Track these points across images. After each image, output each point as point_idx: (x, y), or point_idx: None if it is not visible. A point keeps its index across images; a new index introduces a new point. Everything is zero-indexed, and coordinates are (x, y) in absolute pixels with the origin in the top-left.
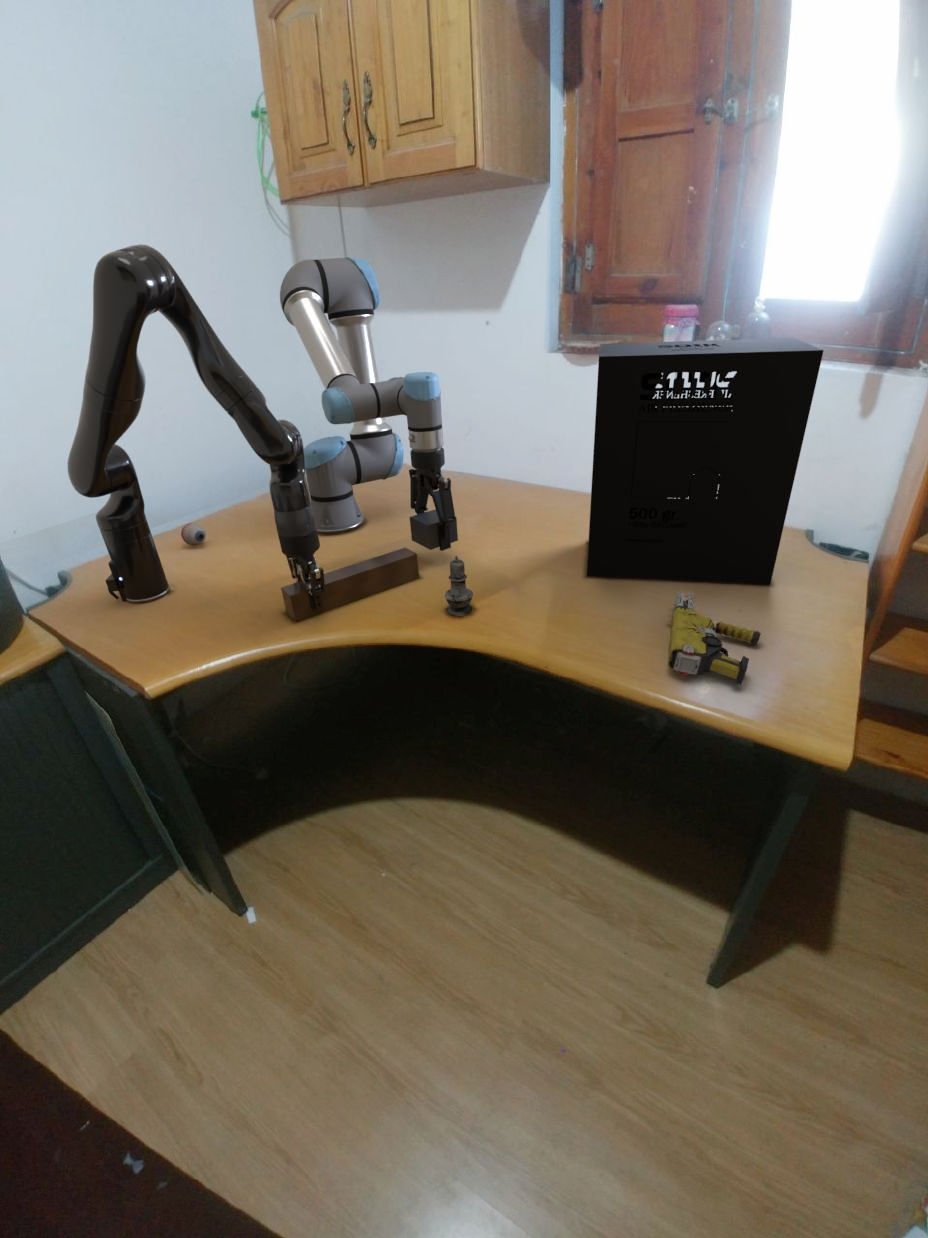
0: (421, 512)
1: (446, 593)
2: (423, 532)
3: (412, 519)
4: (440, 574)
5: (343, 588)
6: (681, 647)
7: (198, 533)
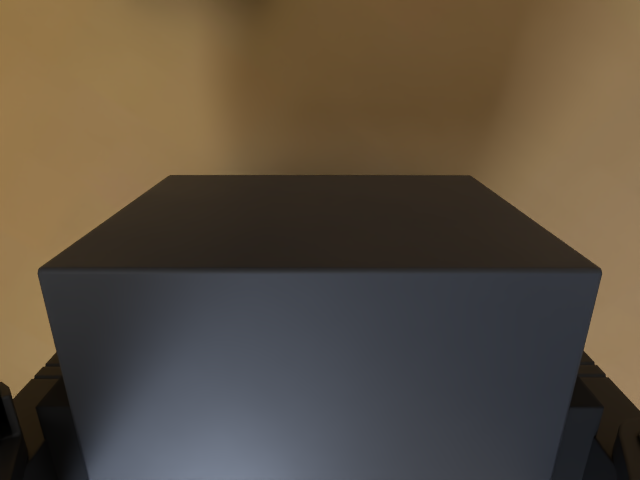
0: (590, 470)
1: None
2: (224, 217)
3: (501, 260)
4: (94, 137)
5: None
6: None
7: None
